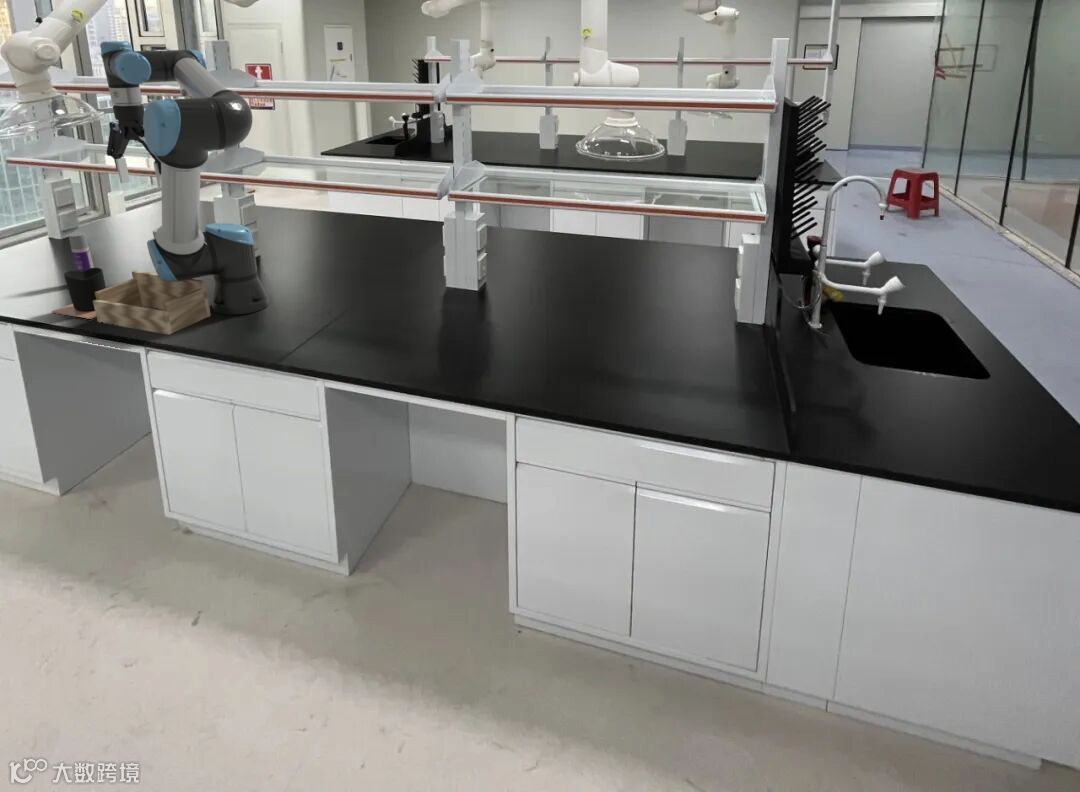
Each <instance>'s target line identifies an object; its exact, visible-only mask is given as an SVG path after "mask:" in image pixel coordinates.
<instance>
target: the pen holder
mask: <svg viewBox="0 0 1080 792" xmlns="http://www.w3.org/2000/svg"><path fill="white" fill-rule="evenodd" d="M63 277H64V280H65V283H66V287H67V290H68V293H69V297H70V299H71V304H73V306H74V308H75V309H76V310H77V311H84V312H85V311H95V308H94V304H93V301H94V300H96V296H95V292H97V291H100V290H102V289H105V288H107V286H106V282H105V276H104V272H103V269H102V268H100V267H94V268H90V269H88V270H85V271H77V270H68V271H66V272H64V273H63Z"/></svg>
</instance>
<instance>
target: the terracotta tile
mask: <svg viewBox="0 0 1080 792" xmlns="http://www.w3.org/2000/svg"><path fill="white" fill-rule="evenodd" d="M53 313H56V314H55V315H58V314H63V315H62V316H64V315H70V316H76V317H82V318H86V319H92V318H95V317H97V316H96V312H95V311H85V312H84V311H77V310H76V309H75V308H74V306H73V303H71V304H68V305H66V306H63V307H59V308H57V309H55V310H52V311H51V314H53ZM70 316H69V317H70ZM86 319H85V320H86ZM95 319H96V318H95ZM92 320H93V319H92Z"/></svg>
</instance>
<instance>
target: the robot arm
mask: <svg viewBox="0 0 1080 792" xmlns="http://www.w3.org/2000/svg"><path fill="white" fill-rule="evenodd" d="M99 46H100V53H101V54H100V57H101V59H102V62H103V67H104V72H105V76H106V80H107V81H106V82H107V86H108V90H109V95H110V100H111V103H112V104H114V105H112V110H113V111H112V112H113V115H114V119H115V121H109V123H108V124H109V125H108V126H109V134H108V139H107V140H108V142H107V147H106V149H107V150H106V156H108V157H109V156H110V157H111V158H112V159H113V160H114V164H115V168H116V171H117V173H118V179H119V182H120V184H125V183H130V182H131V179H130V174H129V170H128V165H127V160H126V158H125V156H124V154H125V151H126V149H127V147H128V144H129V142H130V141H135V142H137V141H138V143H140V144H141V145H142V146H143V148H144V149H145V150H146V151H147V152H148V153H149V155H150V156H151V157H152V158H153V160H154V162H153V167H154V173H155V178H156V183H157V187H158V188H161V225H160V226H159V227H157V228H158V230H157V232H156V239H154V238H151V239H149V240H148V241H147V242H146V243H147V249H148V254H149V256H150V260H151V262H152V265H153V267H154V270H155V272H156V274H158V276H159V278H160V279H161V280H162V281H164V282H167V283H168V282H179V281H183V280H188V279H198V278H202V277H210V276H213V279H214V283H213V284H214V285H213V290H212V296H211V307H212V310H213V311H214V312H215V313H217V314H222V315H231V316H232V315H233V316H234V315H235V316H236V315H245V314H250V313H255V312H259V311H261V310H263V309H265V308H267V307H268V306H269V295H268V293H267V292H266V289H265V288H264V286H263V284H262V281H261V280H260V278H259V274H258V267H257V265H258V264H257V260H256V253H255V252H256V251H255V246H254V245H255V242H254V239H253V235H252V232H251V229H250V228H249V227H248V226H245V225H244V224H243V225H241V224H240V223H239V224H238V223H232V222H231V223H229V222H214V223H212V222H211V223H209V224H206V225H205V226H204V227H205V228H204V231H202V230H201V229H200V227H199V225H200V223H199V222H200V199H201V196H200V194H201V167H203V166H204V165H205V164H206V163H207V161H208V159H209V152H211V151H221V150H229V149H231V148H235V147H237V146H238V145H240V144H241V143H242V142H244V140H245V139H247V137H248V135H249V134H250V132H251V129H252V126H253V114H252V113H253V112H252V110H251V107H250V105H249V103H248V102H247V101H246V100H245V98H243V97H242V95H240V94H239V93H238V92H236V91H234V90H232V89H227V88H226V87H225V86H224V85H223V84H222V83H221V82H220V81H219V80H218V79H217V78H216V77H215V76H214V75H213V74H212V73H210V72H209V71H208V65H207V62H206V58H205V57H204V54H203V52H201V51H200V50H196V49H189V48H188V49H187V48H186V49H170V50H133V48H132V44H131V43H130V41H126V40H125V41H124V40H122V41H120V40H119V41H117V40H116V41H115V40H114V41H112V40H110V41H102V42H101V43H100V44H99ZM166 82H168V83H169V82H170V83H171V82H177V84H179V85H180V86H181V88H183V89H184V91H186V92H187V93H188V94H189V96H190V97H191V98H178V99H173V98H165V99H161V100H152V101H151V102H149V103H148V104H147V105H146V107H144V105H143V104H142V102H143V97H142V92H141V87H140V85H142V84H144V83H147V84H148V83H166Z"/></svg>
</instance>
